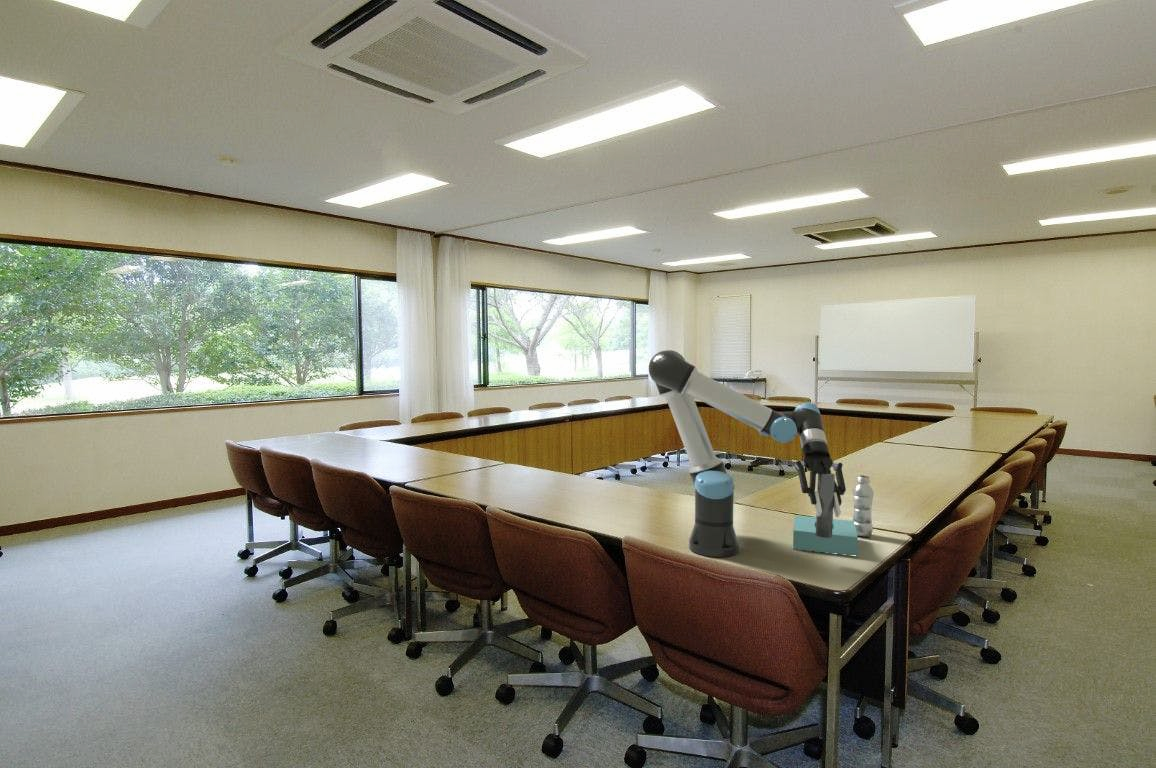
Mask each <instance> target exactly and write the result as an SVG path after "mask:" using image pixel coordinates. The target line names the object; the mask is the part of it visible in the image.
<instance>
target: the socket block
mask: <svg viewBox="0 0 1156 768" xmlns="http://www.w3.org/2000/svg"><path fill="white" fill-rule="evenodd" d="M792 534H793V537H792V539H793V541H792V542H793V543H792V549H793V550H794V549H798V550H797V551H803V550H807V551H806V552H811V551H815V552H814V553H820V552H828V553H837V554H846V555H856V556H857V557H858V535H857V533H856V529H855V525H854V521H853V520H846V519H837V518H833V527H832V537H831V538H823V537H819V536H816V517H815V516H807V515H795V514H794V520H793V531H792ZM828 553H827V554H828Z"/></svg>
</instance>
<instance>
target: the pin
mask: <svg viewBox="0 0 1156 768" xmlns="http://www.w3.org/2000/svg"><path fill="white" fill-rule="evenodd" d="M835 478H836V474H835V473H832V472H831V473H825V472H820V473H818V474H817V491H816V492H818V494H819V499H820V504H821V509H822V513H821V515H820V516H817V513H816V512H815V513H816V514H815V515H816V536H819V537H823V538H831V537H832V527H833V519H834V507H833V504H834V481H835V482H836V480H835Z"/></svg>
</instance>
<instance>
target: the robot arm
mask: <svg viewBox="0 0 1156 768" xmlns="http://www.w3.org/2000/svg"><path fill="white" fill-rule="evenodd" d="M648 373H649V374H648V375H649V377H650V378H651V380H652V381H653V382H654V383H655V385H656V388H657V390H658V394H659V396H661V397H663V398H664V399H665V400H666V401H667V404H668V407H669V409H670V412H671V415H672V418H673V420H674V423H675V426H676V428H677V431H678V433H679V437H680V439H681V442H682V444H683V447H684V449H685V452H686V455H687V457H688V460H689V462H690V467H689V469H688V473H689V476H690V478H691V481H692V484H693V486H694V525H693V528H692V530H691V533H690V537H689V540H688V549H689V550H690V551H691V552H693V553H695V554H698V555H701V556H705V557H712V558H727V557H728V558H729V557H732V556H735V555H737V554H738V553H739V551H740V550H739V549H740V544H739V541H738V537H737V534H736V530H735V526H734V500H735V499H734V493H735V492H734V490H735V482H734V478H733V477H732V475H731V474H729V473H728V472H727V470H726V466H725V464H724V462H723V460H722V458H719V457H717V456H716V453H715V452H714V451H715V450H714V448H713V446H712V443H711V441H710V438H709V435H708V433H707V429H706V427H705V424H704V422H703V420H702V417H701V414H700V412H699V409H698V407H697V403H696V400H695V399H697V400H699V401H701V402H703V403H705V404H707V405H708V406H710V407H713V408H715V409H717V410H718V411H720V412H722V413H724V414H725V415H728V416H730V417H732V418H734V419H736V420H737V421H740V422H741V423H744V424H746V425H747V426H750V427H752V428H754V429H755V430H756V431H758V433H759V435H760V436H763V437H764V436H766V437H771V438H772V439H773V440H774V441H776V442H778V443H782V444H784V443H789V442H791V441H793V440H794V438H796V436H797V435H798V436H799V437H798V438H799V441H800V447H801V452H802V456H803V457H802V458H803V461H800V460H797V461H796V463H795V465H794V468H795V470H796V471H797V474H798V478H799V482H800V488H801V492H802V493H803V494H808V495H807V496H808V497H809V499H810V504H811V505H814V508H815V513H817V516H820V515H821V513H822V509H821V504H820V499H819V494H818V492H817V491H816V479H817V475H818V473H820V472H825V473H832V470H831V468H832V469H833V471H834V474H835V478H836V480H835V481H834V504H833V513H834V516H835V518H839V517H840V515H841V514H842V512H841V505H842V502H843V501H842V498H841V496H844V495H845V492H846V490H847V488H846V483H845V479H844V478H845V477H844V474H843V463H842V462H838V463H837V462H834V460H833V459H832V458H831V453H830V449H829V445H828V441H827V437H826V434H825V433H826V432H825V429H824V424H823V420H822V415H821V412H820V408H819V407H818V406H817V405H816V404H814V403H811V402H804V403H802V404H798V405H797V406H795V408H794V410H792V411H776V410H774V409H772V408H770V407H769V406H768V407H767V406H766V405H765V404H762V403H761V402H758V401H757V400H754V399H752V398H750V397H749V396H747V395H745V394H743V393H740V392H738V391H737V390H734V389H732V387H731V388H730V387H729V386H727V385H725V384H723V383H721V382H719V381H718V380H715V379H713V378H711V377H709V376H707V375H705V374H704V373H702V372H699V371H698V368H697V367H696V366H695V365H693V364H692V363H689V362H688V361H686V359H685V358H684V357H683V355H682V354H681V353H679V352H678V351H676V350H675V351H674V350H670V349H669V350H662V351H659V352H657V353H656V354H654V355H653V356H652V357H651V359H650V360H649V363H648ZM805 468H806V469H807V470H808V471H809V483H808V481H807V476H806V471H805ZM808 484H809V485H808Z"/></svg>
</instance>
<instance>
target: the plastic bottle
mask: <svg viewBox="0 0 1156 768" xmlns="http://www.w3.org/2000/svg"><path fill="white" fill-rule="evenodd" d="M856 479H857V480H856V482H857V483H856V485H855V486H854V487H853V488H852V500H853V516H852V521H854V525H855V529H856V533H857V537H858V536H859V537H870V536H871V535H872V534H873V529H874V527H873V521H872V519H873V518H872V508H873V507H872V505H873V500H874V495H875V493H874V490H873V488H872V486H871V485H870V483H871V482H870V476H868V475H863V474H861V475H857V478H856Z"/></svg>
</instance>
